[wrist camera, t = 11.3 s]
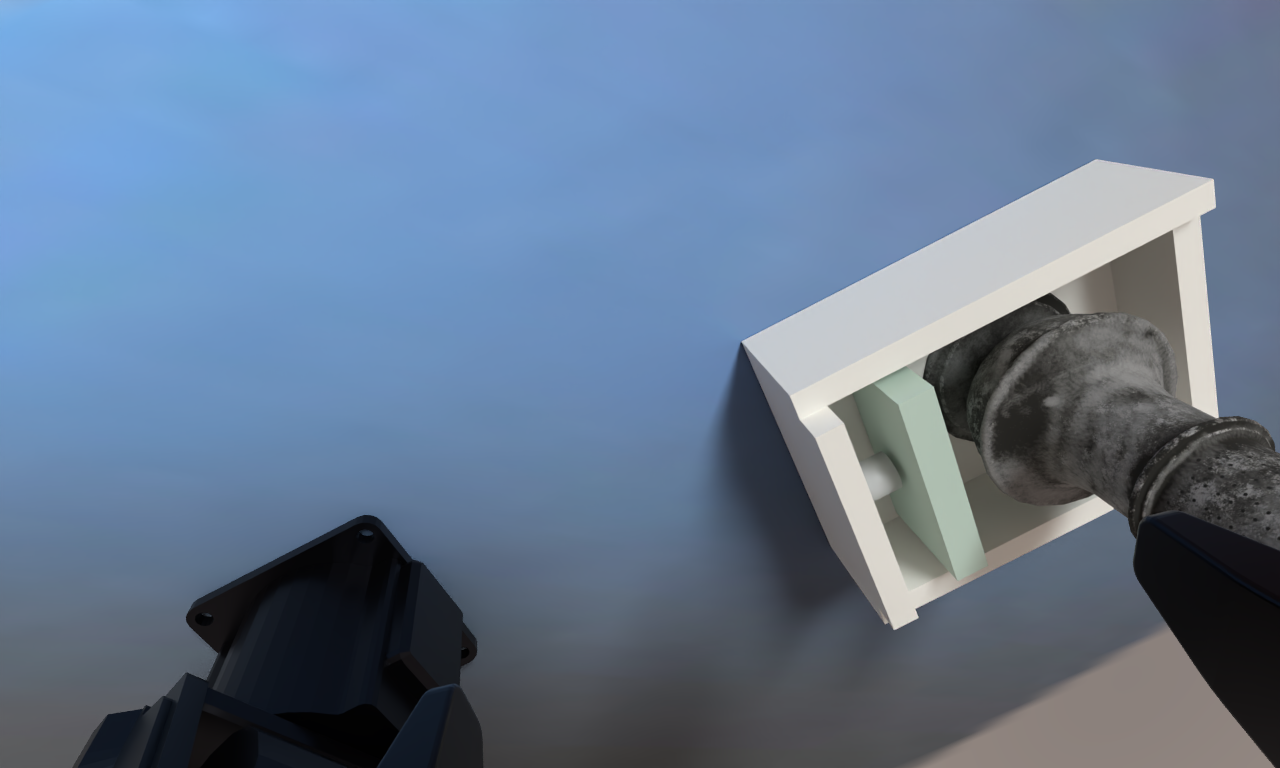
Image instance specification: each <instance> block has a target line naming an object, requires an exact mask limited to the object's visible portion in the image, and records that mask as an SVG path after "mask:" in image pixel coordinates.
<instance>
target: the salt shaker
mask: <svg viewBox="0 0 1280 768" xmlns="http://www.w3.org/2000/svg"><path fill="white" fill-rule="evenodd" d="M923 379H924V380H925V381H927V382H928V383H929V384H931V385H932V386H933V387H934V389H935V393H936V396H937V399H938V403H939V406H940V409H941V412H942V416H943V419H944V422H945V425H946V429H947V432H948V433H949V434H951V435H952V436H954V437H956V438H959V439H963V440H968V441H972V442H975V445H976V448H977V450H978V453H979V454H980V455H981V457H982V461H983V464H984V467H985V470H986V473H987V475H988V476H989V477H990V479H991V480H992V481H993V482H994V484H995V485H996V486H997V487H998V489H999V490H1000V491H1002V492H1003V493H1005V494H1007V495H1008V496H1010V497H1012V498H1013V499H1015V500H1017V501H1018V502H1022V503H1027V504H1031V505H1036V506H1051V505H1064V504H1068V503H1071V502H1075V501H1078V500H1081V499H1084V498H1088V497H1090V496H1092V495H1094V494H1095V495H1096V496H1098V497H1099V498H1101V499H1102V500H1103V501H1105V502H1106V503H1107V504H1109V505H1110V506H1112V507H1113V508H1114V509H1116V510H1117V511H1119V512H1120V513H1121V514H1123V515H1124V516H1126V517H1127V518H1128V521H1129V526H1130V530H1131V533H1132V534H1133V535H1134V537H1135V538H1136V539H1137V533H1138V526H1139V523H1140V521H1141V520H1142V519H1143V518H1144V517H1146V516H1149V515H1153V514H1157V513H1161V512H1165V511H1170V510H1177V511H1182V512H1185V513H1187V514H1190V515H1192V516H1195V517H1197V518H1200V519H1202V520H1205V521H1208V522H1210V523H1213V524H1215V525H1218V526H1220V527H1223V528H1225V529H1228V530H1230V531H1233V532H1235V533H1238V534H1240V535H1243V536H1245V537H1248V538H1250V539H1253V540H1255V541H1258V542H1260V543H1263V544H1265V545H1268V546H1270V547H1273V548H1275V549H1278V550H1280V454H1279V453H1277V452H1275V444H1274V441H1273V439H1272V437H1271V435H1270V434H1269V432H1268V430H1267V429H1265V428H1264V427H1263V426H1262V425H1260V424H1259V423H1258V422H1256V421H1254V420H1251V419H1247V418H1243V417H1239V416H1233V417H1219V418H1215V417H1213V416H1211V415H1209V414H1207V413H1205V412H1203V411H1201V410H1199V409H1197V408H1195V407H1193V406H1191V405H1189V404H1187V403H1184V402H1182V401H1180V400H1178V399H1176V398H1175V397H1176V389H1177V382H1178V372H1177V366H1176V360H1175V353H1174V351H1173V349H1172V347H1171V345H1170V344H1169V342H1168V340H1167V338H1166V336H1165V335H1164V333H1162V332H1161V331H1160V330H1159V329H1158V328H1156V327H1155V326H1154V325H1153V324H1151V323H1150V322H1149V321H1148V320H1145V319H1142V318H1139V317H1136V316H1133V315H1130V314H1127V313H1124V312H1097V313H1094V314H1071V313H1070V311H1069V309H1068V308H1067V306H1066V305H1065V303H1063V302H1062V301H1061V300H1059V299H1058V298H1057V297H1056V296H1054V295H1053V294H1052V293H1050V292H1049V293H1048V294H1046V295H1044V296H1042V297H1040V298H1038V299H1036V300H1034V301H1032V302H1030V303H1028V304H1026V305H1024V306H1022V307H1020V308H1018V309H1016V310H1014V311H1012V312H1010V313H1008V314H1006V315H1004V316H1002V317H1001V318H999V319H997V320H995V321H993V322H991V323H989V324H987V325H985V326H983V327H981V328H979V329H977V330H975V331H973V332H971V333H969V334H967V335H965V336H963V337H961V338H959V339H957V340H955V341H954V342H952V343H950V344H948V345H946V346H944V347H942V348H940V349H938V350H936V351H934V352H932V353H930V354H929V355H928V357H927V361H926V365H925V370H924V374H923Z"/></svg>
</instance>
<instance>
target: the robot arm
mask: <svg viewBox="0 0 1280 768" xmlns="http://www.w3.org/2000/svg"><path fill="white" fill-rule="evenodd" d="M364 529H366V530H370V531H371V532H373V535H370V536H365V535H362V534H361V533H360V532H359V531H360V530H364ZM1133 567H1134V572H1135V575H1136V577H1137V579H1138V581H1139V583H1140V584H1141V586H1142V587H1143V589H1144V590H1145V592H1146V593H1147V595H1148V596H1149V598H1150V599H1151V601H1152V602H1153V604H1154V605H1155V607H1156V608H1157V610H1158V611H1159V613H1160V614H1161V616H1162V617H1163V619H1164V620H1165V622H1166V623H1167V625H1168V626H1169V628H1170V629H1171V631H1172V632H1173V633H1174V635H1175V637H1176V638H1177V639H1178V641H1179V643H1180V644H1181V645H1182V647H1183V648H1184V650H1185V651H1186V653H1187V654H1188V656H1189V657H1190V659H1191V660H1192V662H1193V663H1194V665H1195V666H1196V668H1197V669H1198V671H1199V672H1200V674H1201V675H1202V677H1203V678H1204V679H1205V681H1206V682H1207V684H1208V685H1209V686H1210V688H1211V689H1212V690H1213V692H1214V693H1215V694H1216V696H1217V697H1218V698H1219V699H1220V701H1221V702H1222V703H1223V704H1224V706H1225V707H1226V708H1227V709H1228V710H1229V712H1230V713H1231V714H1232V716H1233V717H1234V718H1235V719H1236V720H1237V722H1238V723H1239V724H1240V725H1241V726H1242V728H1243V729H1244V730H1245V731H1246V733H1247V734H1248V735H1249V736H1250V738H1251V739H1252V740H1253V741H1254V742H1255V743H1256V745H1257V746H1258V747H1259V749H1260V750H1261V751H1262V752H1263V753H1264V754H1265V756H1266V757H1267V758H1268V760H1269V761H1270V762H1271V763H1272V764H1273V765H1274V767H1275V768H1280V550H1278V549H1275V548H1273V547H1270V546H1268V545H1265V544H1263V543H1260V542H1258V541H1255V540H1253V539H1250V538H1248V537H1245V536H1243V535H1240V534H1238V533H1235V532H1233V531H1230V530H1228V529H1225V528H1223V527H1220V526H1218V525H1215V524H1213V523H1210V522H1208V521H1205V520H1202V519H1200V518H1197V517H1195V516H1192V515H1190V514H1187V513H1185V512H1182V511H1177V510H1170V511H1165V512H1161V513H1157V514H1153V515H1149V516H1146V517H1144V518H1143V519H1142V520H1141V521H1140V523H1139V526H1138V533H1137V539H1136V545H1135V552H1134V558H1133ZM203 612H204V613H209V614H210V615H212V617H206V616H204V615H202V614H201V613H203ZM186 622H187V623H188V625H189V626H190V627H191V628H192V629H193V630H194V631H195V632H196V633H197V634H198V635H199V636H200V637H201V638H202V639H203V640H204V641H205V642H207V643H208V644H209V645H210V646H211V647H212V648H213V649H214V650H215V651H216V652H217V653H218V656H217V658H216V660H215V662H214V665H213V667H212V669H211V671H210V674H209V676H208V678H207V680H203V679H201V678H199V677H196V676H194V675H191V674H189V673H185V674H184V675H183V676H182V678H181V679H180V680H179V681H178V682H177V683H176V685H175V686H174V687H173V688H172V689H171V690H170V692H169V693H168V694H167V695H166V696H163V697H161V698H160V699H159V700H158V701H157V702H156V703H155V704H154V705H153V706H152V707H150V706H147V705H146V706H145V707H144V708H143V709H139V710H133V711H127V712H121V713H115V714H108V715H107V716H106V717H105V719H104V720H103V721H102V722H101V723H100V725H99V726H98V727H97V728H96V729H95V730H94V732H93V733H92V735H91V737H90V738H89V740H88V742H87V744H86V745H85V747H84V749H83V750H82V752H81V754H80V756H79V757H78V759H77V761H76V762H75V764H74V766H73V767H72V768H483V741H482V731H481V727H480V723H479V721H478V718H477V717H476V715H475V713H474V711H473V709H472V707H471V705H470V703H469V702H468V700H467V698H466V696H465V694H464V692H463V690H462V689H461V687H460V667H461V666H463V665H465V664H467V663H469V662H470V661H472V660H473V659H474V658H475V656H476V655H477V640H476V638H475V637H474V635H473V634H472V633H471V632H470V630H469V629H468V628H467V627H466V625H465V624H464V623H463V613H462V611H461V610H460V609H459V608H458V606H457V605H456V604H455V603H454V601H453V600H452V599H451V598H450V596H449V595H448V594H447V593H446V591H445V590H444V589H443V587H442V586H441V585H440V584H439V582H438V581H437V580H436V579H435V577H434V576H433V575H432V574H431V572H430V571H429V570H428V569H427V567H426V566H425V565H424V564H423V563H421V562H419V561H416V560H412V558H411V557H410V556H409V555H408V553H407V552H406V551H405V550H404V548H403V547H402V546H401V545H400V543H399V542H398V541H397V540H396V538H395V537H394V536H393V535H392V534H391V532H390V531H389V530H388V529H387V527H386V526H385V525H384V524H383V522H382V521H381V520H379V519H378V518H377V517H374V516H371V515H363V516H360V517H357V518H355V519H353V520H351V521H349V522H347V523H345V524H343V525H341V526H339V527H338V528H336V529H334V530H332V531H330V532H328V533H326V534H324V535H322V536H320V537H318V538H316V539H314V540H312V541H310V542H308V543H306V544H304V545H303V546H301V547H299V548H297V549H295V550H293V551H291V552H289V553H287V554H285V555H283V556H281V557H279V558H277V559H275V560H273V561H271V562H269V563H268V564H266V565H264V566H262V567H260V568H258V569H256V570H254V571H252V572H250V573H248V574H246V575H244V576H242V577H240V578H238V579H236V580H235V581H233V582H231V583H229V584H227V585H225V586H223V587H221V588H219V589H217V590H215V591H213V592H211V593H209V594H207V595H205V596H203V597H201V598H200V599H198V600H196V601H195V602H194V603H193V604H192V606H191V608H190V610H189V612H188V614H187V616H186ZM461 647H466V648H467V649H464V650H461Z"/></svg>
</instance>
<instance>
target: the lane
mask: <svg viewBox="0 0 1280 768" xmlns="http://www.w3.org/2000/svg"><path fill="white" fill-rule="evenodd" d="M1214 208H1216V203H1215V191H1214V179H1210V178H1204V177H1198V176H1192V175H1186V174H1180V173H1174V172H1168V171H1162V170H1156V169H1150V168H1144V167H1139V166H1133V165H1127V164H1121V163H1115V162H1109V161H1103V160H1097V159H1096V160H1094V161H1092V162H1090V163H1088V164H1086V165H1084V166H1082V167H1080V168H1078V169H1076V170H1074V171H1072V172H1070V173H1068V174H1066V175H1065V176H1063V177H1061V178H1059V179H1057V180H1055V181H1053V182H1051V183H1049V184H1047V185H1045V186H1043V187H1041V188H1039V189H1037V190H1035V191H1033V192H1031V193H1029V194H1028V195H1026V196H1024V197H1022V198H1020V199H1018V200H1016V201H1014V202H1012V203H1010V204H1008V205H1006V206H1004V207H1002V208H1000V209H998V210H996V211H994V212H993V213H991V214H989V215H987V216H985V217H983V218H981V219H979V220H977V221H975V222H973V223H971V224H969V225H967V226H965V227H963V228H961V229H959V230H957V231H956V232H954V233H952V234H950V235H948V236H946V237H944V238H942V239H940V240H938V241H936V242H934V243H932V244H930V245H928V246H926V247H924V248H922V249H920V250H919V251H917V252H915V253H913V254H911V255H909V256H907V257H905V258H903V259H901V260H899V261H897V262H895V263H893V264H891V265H889V266H887V267H885V268H884V269H882V270H880V271H878V272H876V273H874V274H872V275H870V276H868V277H866V278H864V279H862V280H860V281H858V282H856V283H854V284H852V285H850V286H848V287H847V288H845V289H843V290H841V291H839V292H837V293H835V294H833V295H831V296H829V297H827V298H825V299H823V300H821V301H819V302H817V303H815V304H813V305H812V306H810V307H808V308H806V309H804V310H802V311H800V312H798V313H796V314H794V315H792V316H790V317H788V318H786V319H784V320H782V321H780V322H778V323H776V324H775V325H773V326H771V327H769V328H767V329H765V330H763V331H761V332H759V333H757V334H755V335H753V336H751V337H749V338H747V339H745V340H743V341H741V342H742V344H743V346H744V349H745V351H746V353H747V355H748V358H749V360H750V362H751V365H752V367H753V369H754V372H755V374H756V376H757V378H758V381H759V383H760V385H761V388H762V390H763V392H764V394H765V397H766V399H767V401H768V404H769V406H770V408H771V411H772V413H773V415H774V417H775V420H776V422H777V424H778V427H779V429H780V431H781V433H782V436H783V438H784V440H785V443H786V445H787V447H788V450H789V452H790V454H791V456H792V459H793V461H794V463H795V466H796V468H797V470H798V472H799V475H800V477H801V479H802V482H803V484H804V486H805V489H806V491H807V493H808V495H809V498H810V500H811V502H812V505H813V507H814V509H815V511H816V514H817V516H818V518H819V521H820V523H821V525H822V528H823V530H824V532H825V534H826V537H827V539H828V541H829V544H830V546H831V548H832V549H833V551H834V552H835V553H836V555H837V556H838V558H839V559H840V561H841V562H842V563H843V565H844V566H845V568H846V569H847V571H848V572H849V573H850V575H851V576H852V578H853V579H854V581H855V582H856V583H857V585H858V586H859V588H860V589H861V591H862V592H863V593H864V595H865V596H866V598H867V599H868V601H869V602H870V603H871V605H872V606H873V608H874V609H875V611H876V612H877V613H878V615H879V616H880V618H881V619H882V621H883V622H884V623H885V624H886V623H888V622H889V624H890V625H891V626H892V628H893V629H894V630H895V629H897V628H899V627H901V626H903V625H905V624H907V623H909V622H911V621H913V620H915V619H917V618H919V617H918V615H917V612H916V610H915V609H916V608H918V607H920V606H922V605H924V604H926V603H928V602H930V601H932V600H934V599H936V598H938V597H940V596H942V595H944V594H946V593H948V592H950V591H952V590H954V589H956V588H958V587H960V586H962V585H964V584H966V583H968V582H970V581H972V580H974V579H976V578H978V577H980V576H982V575H984V574H986V573H988V572H990V571H992V570H994V569H996V568H998V567H1000V566H1002V565H1004V564H1006V563H1008V562H1010V561H1012V560H1014V559H1016V558H1018V557H1020V556H1022V555H1024V554H1026V553H1028V552H1030V551H1032V550H1034V549H1036V548H1038V547H1040V546H1042V545H1044V544H1045V543H1047V542H1049V541H1051V540H1053V539H1055V538H1057V537H1059V536H1061V535H1063V534H1065V533H1067V532H1069V531H1071V530H1073V529H1075V528H1077V527H1079V526H1081V525H1083V524H1085V523H1087V522H1089V521H1091V520H1093V519H1095V518H1097V517H1099V516H1101V515H1103V514H1105V513H1107V512H1109V511H1111V510H1113V509H1114V508H1113V507H1112V506H1110V505H1109V504H1107V503H1106V502H1105V501H1103V500H1102V499H1101V498H1099V497H1098V496H1096V495H1095V494H1094V495H1092V496H1090V497H1088V498H1084V499H1081V500H1078V501H1075V502H1071V503H1068V504H1064V505H1051V506H1036V505H1031V504H1027V503H1022V502H1018V501H1017V500H1015V499H1013V498H1012V497H1010V496H1008V495H1007V494H1005V493H1003V492H1002V491H1000V490H999V489H998V487H997V486H996V485H995V484H994V482H993V481H992V480H991V479H990V477H989V476H988V475H987V473H986V470H985V467H984V464H983V461H982V457H981V455H980V454H979V453H978V450H977V448H976V445H975V442H972V441H968V440H963V439H959V438H956V437H954V436H952V435H951V434H949V433H948V435H949V439H950V442H951V445H952V448H953V452H954V455H955V458H956V462H957V465H958V468H959V471H960V475H961V478H962V481H963V484H964V488H965V491H966V494H967V498H968V501H969V504H970V507H971V511H972V514H973V517H974V520H975V524H976V527H977V530H978V534H979V537H980V540H981V543H982V547H983V550H984V553H985V557H986V560H987V563H988V566H987V567H985V568H983V569H981V570H979V571H977V572H975V573H973V574H971V575H969V576H967V577H965V578H963V579H961V580H959V581H957V580H956V579H955V578H954V577H953V575H952V574H951V573H950V572H949V571H948V570H947V569H946V568H945V567H944V565H943V564H942V563H941V562H940V561H939V560H938V559H937V558H936V556H935V555H934V554H933V553H932V552H931V551H930V550H929V549H928V548H927V546H926V545H925V544H924V543H923V542H922V541H921V540H920V539H919V537H918V536H917V535H916V534H915V533H914V532H913V531H912V530H911V529H910V527H909V526H908V525H907V524H906V523H905V522H904V521H903V520H902V518H901V517H900V516H899V515H898V514H897V513H896V511H895V508H894V505H893V503H892V500H891V497H890V493H892V492H894V491H896V490H898V489H900V488H902V486H903V485H902V481H901V478H900V476H899V474H898V472H897V470H896V468H895V466H894V465H893V463H892V462H891V460H890V459H889V458H888V456H887V455H886V454H885V453H884V452H882V451H880V452H878V453H876V454H874V451H873V448H872V446H871V443H870V440H869V437H868V435H867V432H866V429H865V427H864V424H863V421H862V419H861V416H860V413H859V410H858V408H857V405H856V402H855V400H854V397H853V394H852V393H854V392H856V391H858V390H860V389H861V388H863V387H865V386H867V385H869V384H871V383H873V382H875V381H877V380H879V379H881V378H883V377H885V376H887V375H889V374H891V373H893V372H895V371H897V370H899V369H901V368H903V367H905V366H906V367H908V368H909V369H910V370H912V371H913V372H914V373H916V374H917V375H919V376H920V377H921V378H923V374H924V370H925V365H926V361H927V357H928V355H929V354H930V353H932V352H934V351H936V350H938V349H940V348H942V347H944V346H946V345H948V344H950V343H952V342H954V341H955V340H957V339H959V338H961V337H963V336H965V335H967V334H969V333H971V332H973V331H975V330H977V329H979V328H981V327H983V326H985V325H987V324H989V323H991V322H993V321H995V320H997V319H999V318H1001V317H1002V316H1004V315H1006V314H1008V313H1010V312H1012V311H1014V310H1016V309H1018V308H1020V307H1022V306H1024V305H1026V304H1028V303H1030V302H1032V301H1034V300H1036V299H1038V298H1040V297H1042V296H1044V295H1046V294H1048V293H1049V292H1050V293H1052V294H1053V295H1054V296H1056V297H1057V298H1058V299H1059V300H1061V301H1062V302H1063V303H1065V305H1066V306H1067V308H1068V309H1069V311H1070V313H1071V314H1094V313H1097V312H1124V313H1127V314H1130V315H1133V316H1136V317H1139V318H1142V319H1145V320H1148V321H1149V322H1150V323H1151V324H1153V325H1154V326H1155V327H1156V328H1158V329H1159V330H1160V331H1161V332H1162V333H1164V335H1165V336H1166V338H1167V340H1168V342H1169V344H1170V345H1171V347H1172V349H1173V351H1174V353H1175V360H1176V366H1177V372H1178V382H1177V389H1176V397H1175V398H1176V399H1178V400H1180V401H1182V402H1184V403H1187V404H1189V405H1191V406H1193V407H1195V408H1197V409H1199V410H1201V411H1203V412H1205V413H1207V414H1209V415H1211V416H1213V417H1215V418H1218V407H1217V396H1216V385H1215V374H1214V363H1213V352H1212V341H1211V330H1210V319H1209V308H1208V297H1207V286H1206V275H1205V265H1204V254H1203V243H1202V232H1201V221H1200V215H1202V214H1204V213H1206V212H1208V211H1210V210H1212V209H1214Z"/></svg>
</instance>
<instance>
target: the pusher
mask: <svg viewBox="0 0 1280 768" xmlns="http://www.w3.org/2000/svg"><path fill="white" fill-rule="evenodd" d="M852 394H853V397H854V400H855V402H856V405H857V408H858V410H859V413H860V416H861V419H862V421H863V424H864V427H865V429H866V432H867V435H868V437H869V440H870V443H871V446H872V448H873V451H874V454H876V453H878V452H880V451H882V452H884V453H885V454H886V455H887V456H888V458H889V459H890V460H891V462H892V463H893V465H894V466H895V468H896V470H897V472H898V474H899V476H900V478H901V481H902V485H903V486H902V488H900V489H898V490H896V491H894V492H892V493H890V497H891V500H892V503H893V505H894V508H895V511H896V513H897V514H898V515H899V516H900V517H901V518H902V520H903V521H904V522H905V523H906V524H907V525H908V526H909V527H910V529H911V530H912V531H913V532H914V533H915V534H916V535H917V536H918V537H919V539H920V540H921V541H922V542H923V543H924V544H925V545H926V546H927V548H928V549H929V550H930V551H931V552H932V553H933V554H934V555H935V556H936V558H937V559H938V560H939V561H940V562H941V563H942V564H943V565H944V567H945V568H946V569H947V570H948V571H949V572H950V573H951V574H952V575H953V577H954V578H955V579H956V580H957V581H959V580H961V579H963V578H965V577H967V576H969V575H971V574H973V573H975V572H977V571H979V570H981V569H983V568H985V567H987V566H988V563H987V560H986V557H985V553H984V550H983V547H982V543H981V540H980V537H979V534H978V530H977V527H976V524H975V520H974V517H973V514H972V511H971V507H970V504H969V501H968V498H967V494H966V491H965V488H964V484H963V481H962V478H961V475H960V471H959V468H958V465H957V462H956V458H955V455H954V452H953V448H952V445H951V442H950V439H949V435H948V432H947V429H946V425H945V422H944V419H943V416H942V412H941V409H940V406H939V403H938V399H937V396H936V393H935V389H934V387H933V386H932V385H931V384H929V383H928V382H927V381H925V380H924V379H923V378H921V377H920V376H919V375H917V374H916V373H914V372H913V371H912V370H910V369H909V368H908V367H906V366H905V367H903V368H901V369H899V370H897V371H895V372H893V373H891V374H889V375H887V376H885V377H883V378H881V379H879V380H877V381H875V382H873V383H871V384H869V385H867V386H865V387H863V388H861V389H860V390H858V391H856V392H854V393H852Z"/></svg>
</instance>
